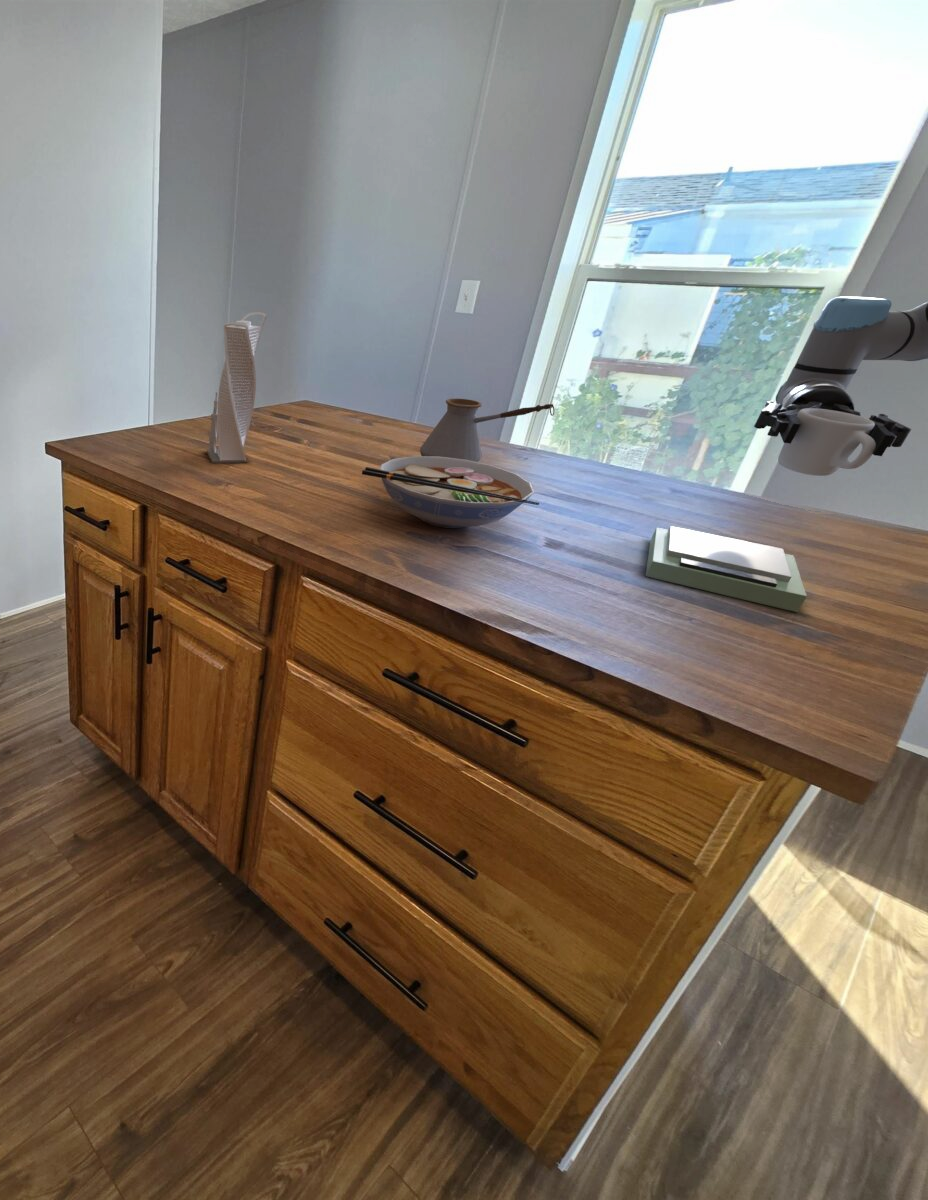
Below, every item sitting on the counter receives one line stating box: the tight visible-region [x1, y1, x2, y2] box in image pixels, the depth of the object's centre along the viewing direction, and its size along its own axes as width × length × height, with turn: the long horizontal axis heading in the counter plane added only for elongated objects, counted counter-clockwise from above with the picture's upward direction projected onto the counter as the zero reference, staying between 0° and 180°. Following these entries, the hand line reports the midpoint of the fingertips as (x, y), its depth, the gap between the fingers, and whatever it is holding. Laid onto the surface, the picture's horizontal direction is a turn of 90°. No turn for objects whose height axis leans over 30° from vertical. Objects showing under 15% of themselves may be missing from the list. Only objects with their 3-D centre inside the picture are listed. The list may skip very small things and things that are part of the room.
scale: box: [645, 525, 808, 613], centre depth 92 cm, size 16×15×3 cm
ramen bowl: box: [361, 455, 540, 529], centre depth 106 cm, size 25×23×8 cm
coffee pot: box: [419, 397, 555, 462], centre depth 126 cm, size 21×12×15 cm, turn 46°
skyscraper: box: [206, 311, 268, 464], centre depth 129 cm, size 8×8×28 cm
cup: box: [777, 408, 876, 477], centre depth 92 cm, size 11×8×8 cm
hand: (836, 439), depth 89 cm, fingers closed on cup, 8 cm apart
